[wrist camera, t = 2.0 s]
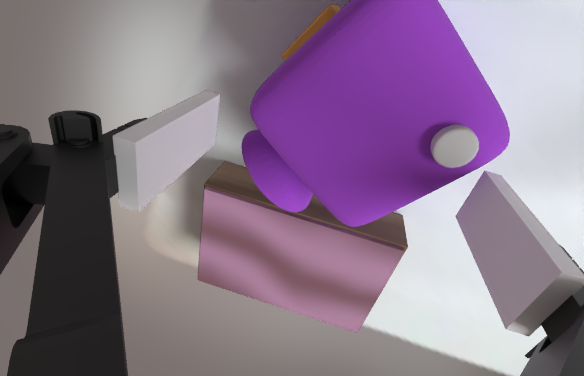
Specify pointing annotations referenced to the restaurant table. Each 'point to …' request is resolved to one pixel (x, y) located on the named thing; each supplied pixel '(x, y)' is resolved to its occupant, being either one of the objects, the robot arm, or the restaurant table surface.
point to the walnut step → (294, 252)
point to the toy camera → (372, 112)
